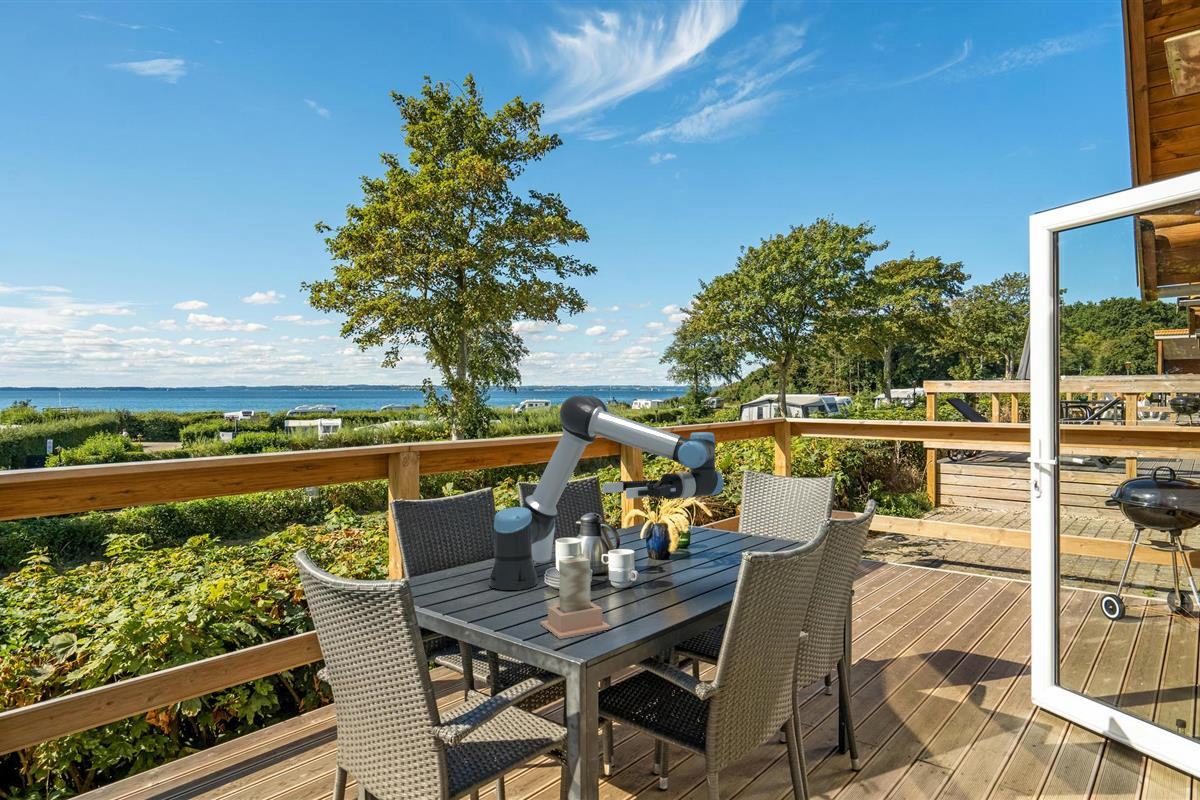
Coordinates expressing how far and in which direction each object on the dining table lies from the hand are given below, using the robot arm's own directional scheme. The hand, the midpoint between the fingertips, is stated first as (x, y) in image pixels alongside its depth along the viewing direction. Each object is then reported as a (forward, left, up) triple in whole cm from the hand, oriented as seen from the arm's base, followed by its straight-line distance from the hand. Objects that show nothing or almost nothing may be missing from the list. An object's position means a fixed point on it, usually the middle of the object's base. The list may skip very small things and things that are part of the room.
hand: (614, 490), depth 180 cm
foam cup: (-35, +44, -32) cm, 65 cm away
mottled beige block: (-7, -20, -31) cm, 38 cm away
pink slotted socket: (-7, -20, -32) cm, 38 cm away
